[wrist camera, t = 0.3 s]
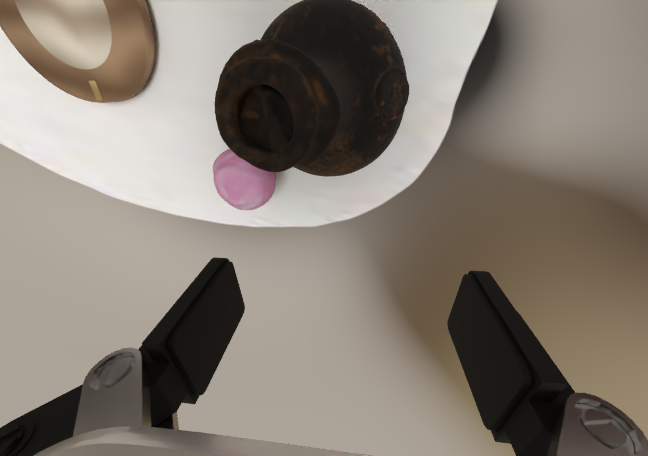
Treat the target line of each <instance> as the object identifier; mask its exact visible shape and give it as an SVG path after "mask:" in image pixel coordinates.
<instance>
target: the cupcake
mask: <svg viewBox="0 0 648 456" xmlns="http://www.w3.org/2000/svg"><path fill="white" fill-rule="evenodd" d="M213 173H214V183H215V186H216V189H217V192H218V194H219V195H220V196H221V197H222V198H223V199H224V200H225V201H226V202H228V203H229V204H230V205H232V206H233V207H235V208H237V209H240V210H253V209H256V208H258V207H260V206H262V205H264V204H265V203H266V202H267V201H269V199H270V198H271V196H272V194H273V192H274V190H275V173H274V172H268V171H265V170H261V169H258V168H256V167H254V166H252V165H251V164H249V163H248V162H246V161H245V160H243V159H242V158H239V157H238V156H237V155H236V154H235V153H233V151H232V150H231V149H230V150H227V151H225V152H223V153H222V154H221V155H220V156H219V157H218V158H217V159H216V160H215V162H214V165H213Z"/></svg>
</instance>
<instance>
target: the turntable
mask: <svg viewBox="0 0 648 456" xmlns="http://www.w3.org/2000/svg"><path fill="white" fill-rule="evenodd" d="M0 26H1V28H2V30H3V31H4V33H5V34H6V36H7V37H8V38H9V40H10V41H11V43H12V44H13V45H14V46H15V48H16V49H17V50H18V52H19V53H20V54H21V55H22V56H23V57H24V58H25V60H26V61H27V62H28V63H29V64H30V65H31V66H32V67H33V68H34V69H35V70H36V71H37V72H38V73H40V74H41V75H42V76H43V77H44V78H45V79H47V80H48V81H49V82H51V83H52V84H53V85H55V86H56V87H58V88H59V89H61V90H63V91H65V92H66V93H68V94H70V95H72V96H75V97H77V98H80V99H83V100H86V101H91V102H100V103H103V102H117V101H123V100H127V99H129V98H131V97H133V96H135V95H136V94H137V93H139V92H140V91H141V90H142V88H143V87H144V86H145V85H146V83H147V81H148V79H149V77H150V74H151V71H152V68H153V62H154V52H155V45H154V33H153V26H152V22H151V18H150V14H149V10H148V7H147V4H146V1H145V0H0Z"/></svg>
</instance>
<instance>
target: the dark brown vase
mask: <svg viewBox="0 0 648 456" xmlns="http://www.w3.org/2000/svg"><path fill="white" fill-rule="evenodd" d="M408 96H409V84H408V81H407V77H406V71H405V66H404V62H403V58H402V55H401V52H400V50H399V47H398V45H397V43H396V41H395V39H394V37H393V35H392V34H391V32H390V30H389V28H388V27H387V26H386V24H385V23H384V22H382V21H381V20H380V18H379V17H377V16H376V14H375V13H373V12H372V11H371V10H369V9H368V8H366V7H365V6H363V5H361V4H358V3H356V2H354V1H351V0H304V1H301V2H298V3H297V4H295V5H293V6H291V7H290V8H288V9H287V10H285V11H284V12H283V13H281V14H280V15H279V16H278V17H277V18H276V19H275V20H274V21H273V22H272V23H271V25H270V26H269V27H268V28H267V30H266V31H265V33H264V35H263V36H262V38H261V40H255V41H253V42H252V43H249V44H246V45H244V46H242V47H241V48H240V49H239V50H237V51H236V52H234V54H233V55H232V56H231V57H230V59H229V61H228V62H227V63H226V64H225V67H224V69H223V71H222V73H221V75H220V79H219V84H218V88H217V91H216V96H215V114H216V120H217V125H218V129H219V131H220V135H221V137H222V139H223V140H224V142H225V143H226V144H227V146H228V147H229V148H230V149H231V150H232V151H233V153H235V154H236V155H237V156H238V157H239V158H242V159H243V160H245V161H246V162H248V163H249V164H251V165H252V166H254V167H256V168H258V169H261V170H265V171H268V172H281V171H285V170H287V169H289V168H291V167H295V168H297V169H299V170H301V171H303V172H306V173H310V174H313V175H319V176H340V175H345V174H349V173H352V172H355V171H357V170H360V169H362V168H364V167H365V166H367V165H369V164H370V163H372V162H373V161H374V160H375V159H377V158H378V157H379V156H380V155H381V154H382V153H383V152H384V151H385V149H386V148H387V147H388V146H389V144H390V143H391V141H392V140H393V138H394V136H395V134H396V133H397V130H398V128H399V125H400V123H401V120H402V116H403V113H404V109H405V106H406V104H407V100H408Z"/></svg>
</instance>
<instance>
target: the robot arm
mask: <svg viewBox="0 0 648 456" xmlns="http://www.w3.org/2000/svg"><path fill="white" fill-rule="evenodd" d="M244 309H245V306H244V302H243V298H242V294H241V291H240V287H239V284H238V280H237V277H236V273H235V269H234V266H233V263H232V262H229V260H228V259H227V258H212V259H211V260H210V262H209V263H208V264H207V265H206V267H205V268H204V269H203V270H202V271H201V272H200V274H199V275H198V276H197V277H196V278H195V280H194V281H193V282H192V283H191V284H190V286H189V287H188V288H187V289H186V291H185V292H184V293H183V294H182V295H181V297H180V298H179V299H178V300H177V301H176V303H175V304H174V305H173V306H172V307H171V309H170V310H169V311H168V312H167V313H166V315H165V316H164V317H163V318H162V320H161V321H160V322H159V323H158V324H157V326H156V327H155V328H154V329H153V330H152V332H151V333H150V334H149V335H148V336H147V338H146V339H145V340H144V341H143V343H142V344H143V345H142V346H141V347H140V348H139V350H137V349H135V348H123V349H121V350H118V351H115V352H113V353H111V354H109V355H107V356H106V357H104V358H103V359H102V360H100V361H99V362H98V363H97V364H96V365H95V366H94V367H93V368H92V369H91V370H90V371H89V373H88V374H87V376H86V377H85V380H84V382H83V385H81V386H79V387H77V388H75V389H73V390H71V391H69V392H67V393H65V394H63V395H61V396H59V397H57V398H55V399H54V400H52V401H50V402H48V403H46V404H44V405H42V406H40V407H38V408H36V409H34V410H32V411H30V412H28V413H26V414H24V415H23V416H21V417H19V418H17V419H15V420H13V421H11V422H9V423H8V424H6V425H4V426H3V427H1V428H0V456H370V455H363V454H355V453H348V452H341V451H334V450H326V449H320V448H311V447H305V446H298V445H290V444H283V443H275V442H268V441H261V440H253V439H245V438H237V437H231V436H223V435H216V434H207V433H201V432H191V431H182V430H179V427H178V418H177V410H178V408H179V406H180V405H181V403H189V404H195V403H196V401H197V399H198V397H199V395H202V394H204V392H205V391H206V389H207V387H208V385H209V383H210V381H211V379H212V377H213V375H214V373H215V371H216V369H217V367H218V365H219V362H220V360H221V359H222V356H223V354H224V352H225V350H226V348H227V346H228V344H229V342H230V340H231V338H232V336H233V334H234V332H235V330H236V328H237V326H238V323H239V322H240V320H241V318H242V316H243V313H244ZM448 329H449V333H450V335H451V338H452V341H453V343H454V346H455V349H456V351H457V354H458V357H459V359H460V362H461V365H462V367H463V370H464V373H465V375H466V378H467V381H468V383H469V386H470V388H471V391H472V394H473V397H474V399H475V402H476V405H477V407H478V410H479V413H480V416H481V418H482V421H483V423H484V425H485V427H486V428H487V429H488V430H491V432H492V434H493V437H494V440H495V442H502V443H510V444H511V445H512V447H513V449H514V452H515V454H516V456H648V440H647V438H646V437H645V435H644V433H643V432H642V431H641V429H640V428H639V427H638V426H637V425H636V424H635V423H634V422H633V420H632V419H630V418H629V417H628V416H627V415H626V414H625V413H623V412H622V411H621V410H620V409H618V408H617V407H615V406H613V405H612V404H611V403H609V402H607V401H605V400H603V399H601V398H599V397H597V396H594V395H591V394H587V393H575V392H574V390H573V389H572V387H571V386H570V385H569V383H568V382H567V380H566V379H565V378H564V376H563V375H562V373H561V372H560V370H559V369H558V368H557V366H556V365H555V363H554V362H553V361H552V359H551V358H550V356H549V355H548V354H547V352H546V351H545V349H544V348H543V347H542V345H541V344H540V342H539V341H538V339H537V338H536V337H535V336H534V334H533V332H532V331H531V329H530V328H529V327H528V325H527V324H526V323H525V321H524V320H523V318H522V317H521V315H520V314H519V313H518V312H517V311H516V310H515V308H514V307H513V306H512V304H511V303H510V301H509V300H508V298H507V297H506V296H505V294H504V293H503V291H502V290H501V288H500V287H499V286H498V284H497V283H496V281H495V280H494V279H493V277H492V276H491V274H490V273H489V272H485V271H470V272H469V273H468V274H465V275H464V276H463V279H462V282H461V284H460V287H459V290H458V293H457V296H456V299H455V302H454V304H453V307H452V310H451V313H450V316H449V319H448Z"/></svg>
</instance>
